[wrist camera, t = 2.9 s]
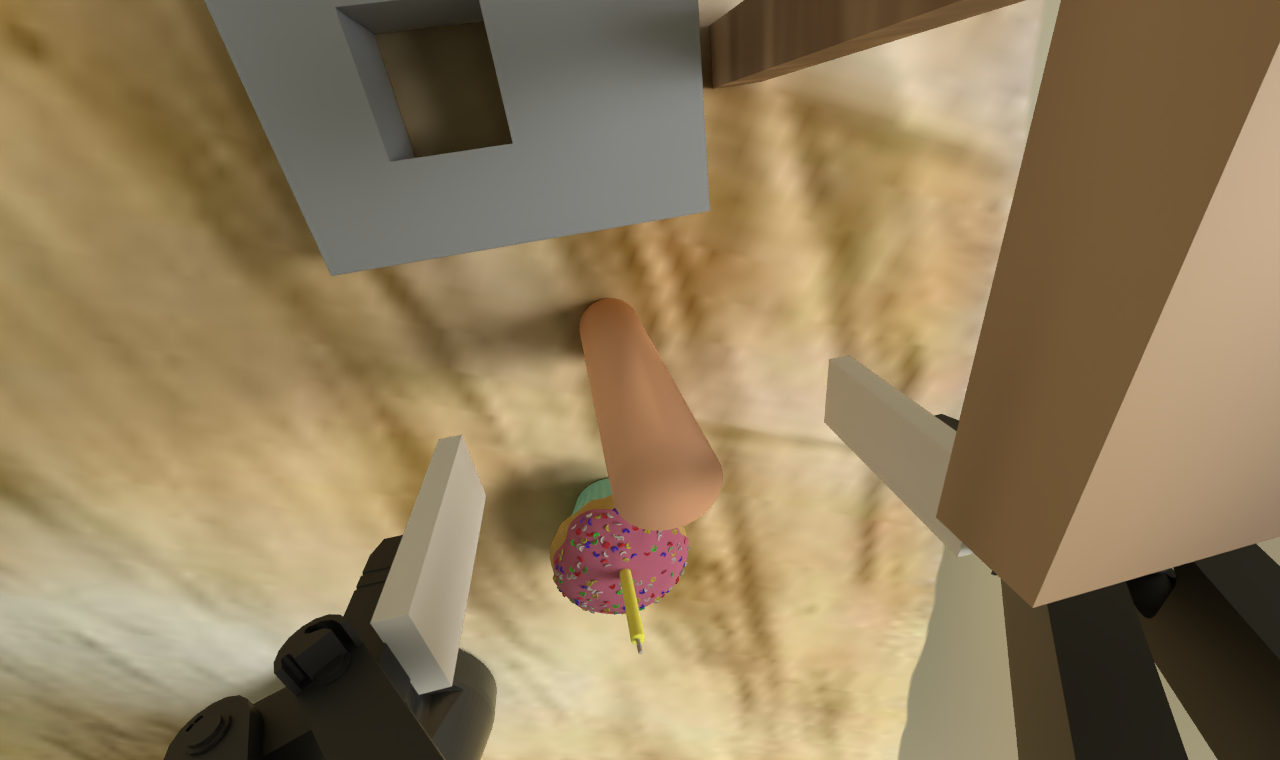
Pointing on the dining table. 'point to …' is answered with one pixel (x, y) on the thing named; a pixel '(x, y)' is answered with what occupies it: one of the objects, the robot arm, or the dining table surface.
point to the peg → (645, 424)
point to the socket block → (486, 177)
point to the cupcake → (614, 559)
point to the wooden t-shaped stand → (1106, 284)
